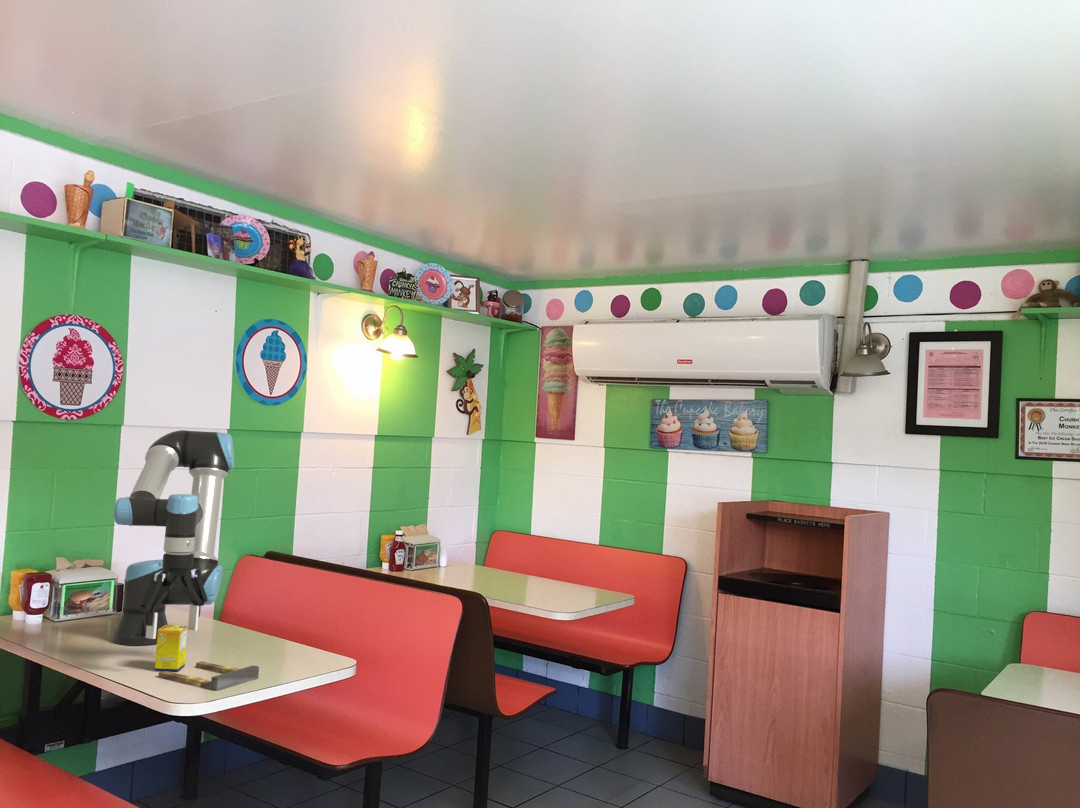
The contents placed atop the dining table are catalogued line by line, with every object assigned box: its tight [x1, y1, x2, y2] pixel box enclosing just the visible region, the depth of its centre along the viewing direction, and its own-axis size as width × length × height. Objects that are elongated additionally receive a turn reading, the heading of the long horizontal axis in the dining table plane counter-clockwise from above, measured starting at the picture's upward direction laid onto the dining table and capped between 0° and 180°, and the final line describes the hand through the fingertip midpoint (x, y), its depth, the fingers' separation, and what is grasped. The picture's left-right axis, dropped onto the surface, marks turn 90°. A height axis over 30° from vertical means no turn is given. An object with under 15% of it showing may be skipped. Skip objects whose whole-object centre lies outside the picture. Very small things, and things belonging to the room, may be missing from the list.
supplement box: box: [154, 624, 188, 673], centre depth 225 cm, size 6×6×11 cm
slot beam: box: [158, 660, 260, 692], centre depth 219 cm, size 20×14×3 cm
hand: (172, 634), depth 225 cm, fingers open, 13 cm apart
